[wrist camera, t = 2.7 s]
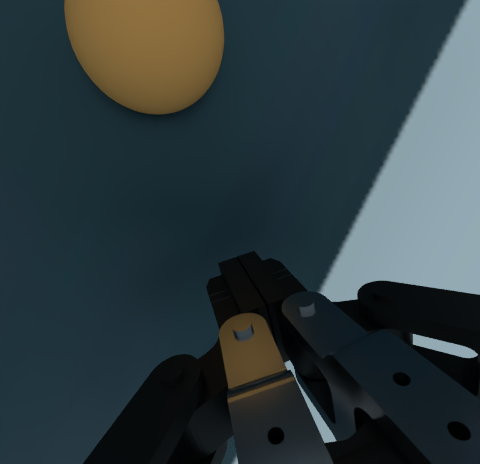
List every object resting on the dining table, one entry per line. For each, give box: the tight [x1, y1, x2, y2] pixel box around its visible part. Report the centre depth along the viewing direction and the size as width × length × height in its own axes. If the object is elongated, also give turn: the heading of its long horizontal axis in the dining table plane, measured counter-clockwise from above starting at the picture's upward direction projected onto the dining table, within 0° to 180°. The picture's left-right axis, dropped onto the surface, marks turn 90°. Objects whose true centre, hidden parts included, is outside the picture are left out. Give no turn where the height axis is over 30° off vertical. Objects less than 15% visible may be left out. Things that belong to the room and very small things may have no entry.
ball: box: [64, 0, 224, 115], centre depth 12 cm, size 6×6×6 cm
